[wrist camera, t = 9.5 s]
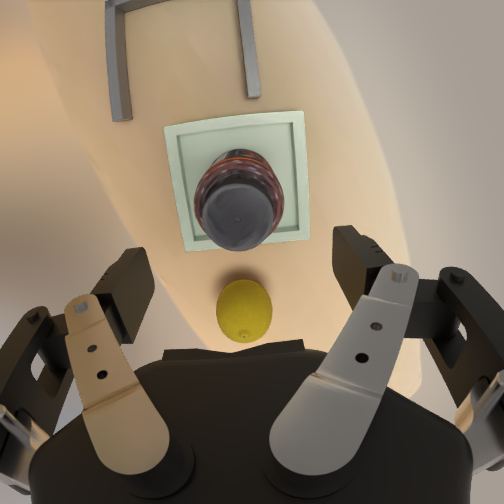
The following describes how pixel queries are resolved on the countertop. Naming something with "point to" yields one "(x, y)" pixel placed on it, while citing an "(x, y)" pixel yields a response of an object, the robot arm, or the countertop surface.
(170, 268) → the countertop surface
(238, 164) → the supplement bottle
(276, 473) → the robot arm
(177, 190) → the tray
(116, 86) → the holder
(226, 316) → the lemon
